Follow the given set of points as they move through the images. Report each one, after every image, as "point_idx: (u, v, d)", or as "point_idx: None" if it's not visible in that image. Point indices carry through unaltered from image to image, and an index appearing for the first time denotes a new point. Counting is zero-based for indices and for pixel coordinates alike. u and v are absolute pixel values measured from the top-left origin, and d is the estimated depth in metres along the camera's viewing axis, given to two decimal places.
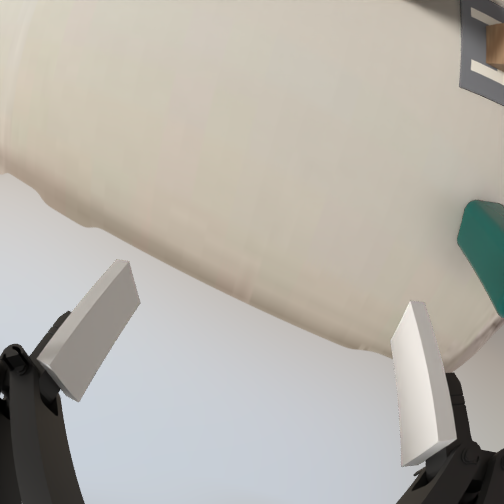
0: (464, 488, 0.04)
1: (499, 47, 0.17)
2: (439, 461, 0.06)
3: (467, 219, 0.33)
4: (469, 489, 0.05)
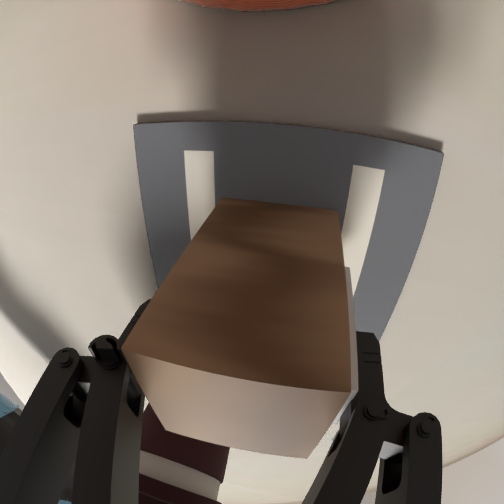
0: (379, 445, 0.06)
1: None
2: (345, 422, 0.08)
3: None
4: (389, 456, 0.07)
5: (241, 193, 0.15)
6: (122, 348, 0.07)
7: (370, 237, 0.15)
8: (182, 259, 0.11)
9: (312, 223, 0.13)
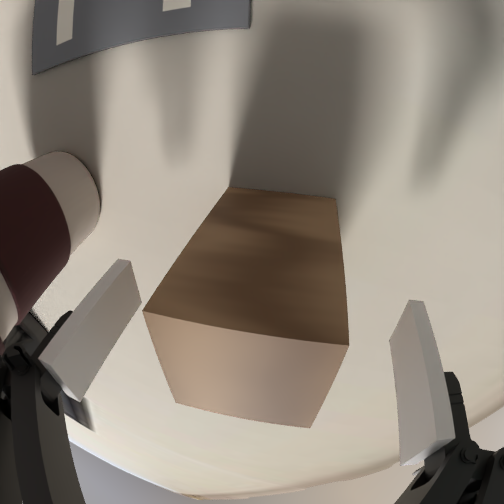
0: (463, 487, 0.04)
1: None
2: (438, 460, 0.06)
3: None
4: (468, 488, 0.05)
5: None
6: (143, 310, 0.08)
7: None
8: (195, 238, 0.12)
9: (312, 209, 0.14)
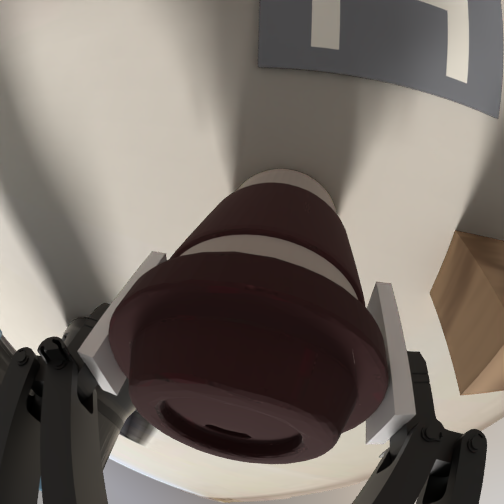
0: (430, 466, 0.05)
1: None
2: (399, 441, 0.07)
3: None
4: (437, 472, 0.06)
5: None
6: None
7: None
8: (488, 277, 0.13)
9: None
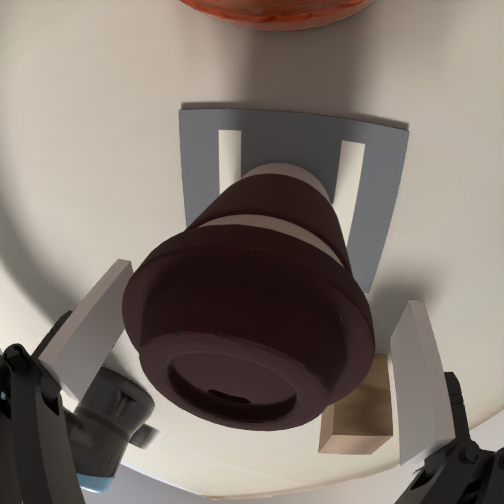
0: (463, 487, 0.04)
1: None
2: (438, 460, 0.06)
3: None
4: (468, 488, 0.05)
5: (261, 161, 0.20)
6: (333, 434, 0.21)
7: (357, 195, 0.20)
8: None
9: (377, 367, 0.27)
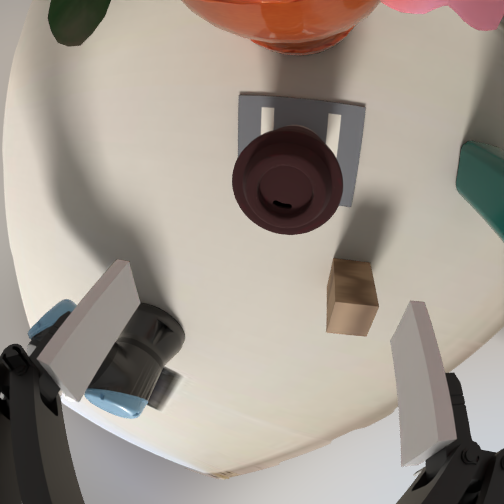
0: (464, 488, 0.04)
1: None
2: (439, 461, 0.06)
3: None
4: (469, 489, 0.05)
5: (284, 125, 0.34)
6: (335, 301, 0.36)
7: (338, 143, 0.34)
8: (335, 281, 0.40)
9: (363, 268, 0.42)
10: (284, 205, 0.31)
